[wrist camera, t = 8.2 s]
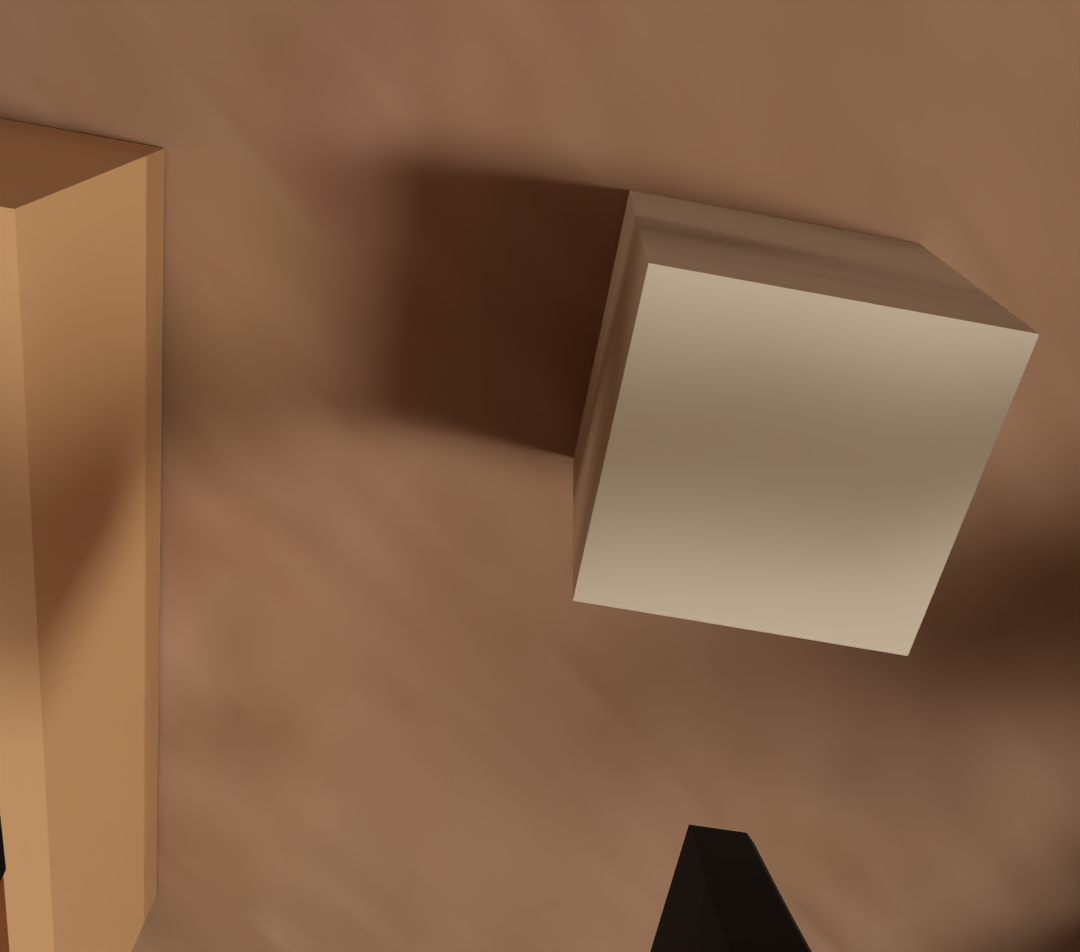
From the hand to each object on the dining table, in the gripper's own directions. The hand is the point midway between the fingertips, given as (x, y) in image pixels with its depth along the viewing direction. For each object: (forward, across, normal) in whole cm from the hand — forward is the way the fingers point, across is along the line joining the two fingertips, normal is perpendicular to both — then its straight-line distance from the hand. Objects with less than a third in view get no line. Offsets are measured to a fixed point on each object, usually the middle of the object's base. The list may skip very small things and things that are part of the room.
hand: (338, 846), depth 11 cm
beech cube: (+10, -5, -3) cm, 11 cm away
